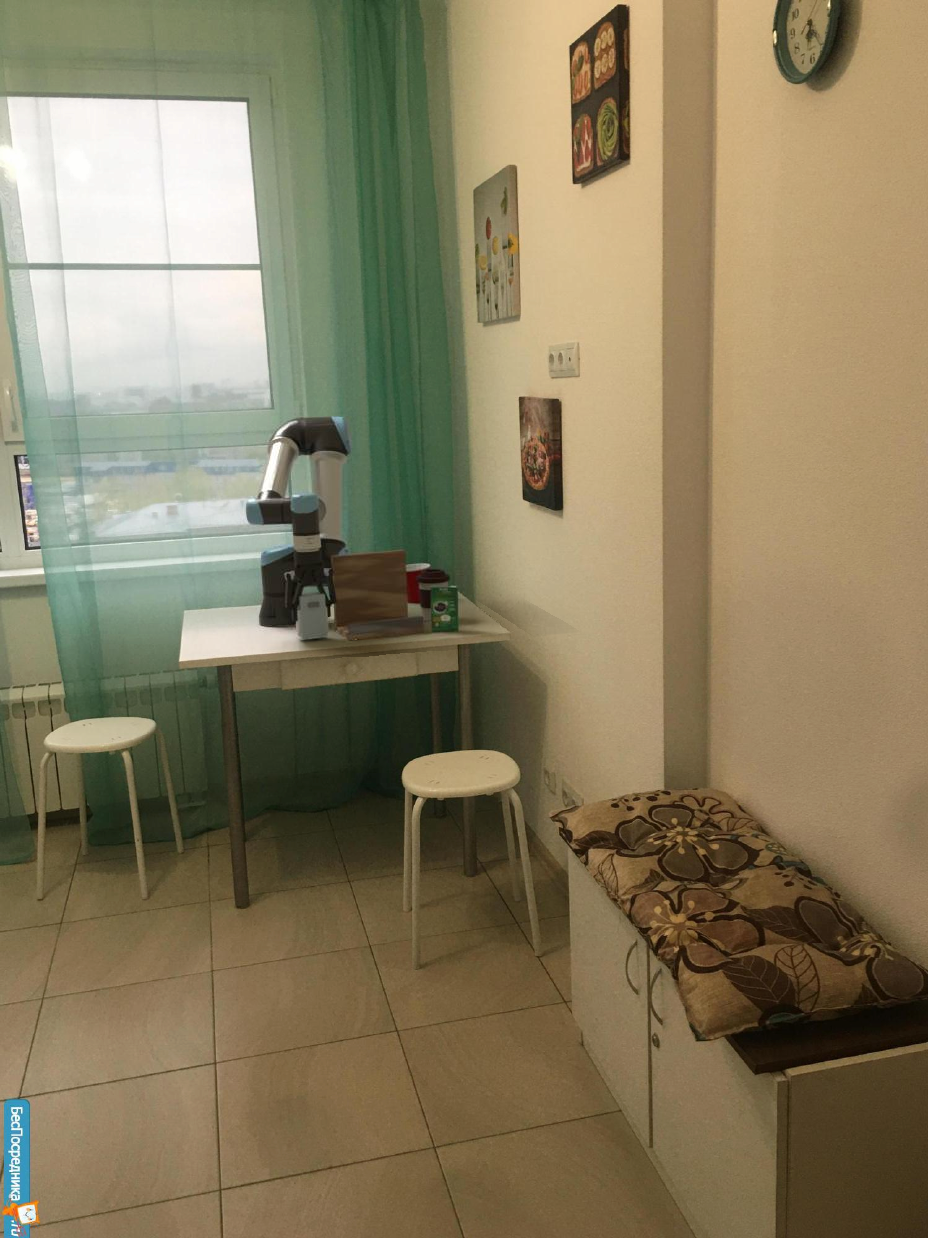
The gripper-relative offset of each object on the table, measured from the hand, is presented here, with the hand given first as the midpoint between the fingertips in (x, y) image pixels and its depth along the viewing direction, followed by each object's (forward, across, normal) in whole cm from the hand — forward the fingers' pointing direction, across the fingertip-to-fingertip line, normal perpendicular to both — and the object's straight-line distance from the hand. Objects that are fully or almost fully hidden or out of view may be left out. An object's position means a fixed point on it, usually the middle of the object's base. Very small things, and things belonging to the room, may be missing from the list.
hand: (312, 630), depth 307 cm
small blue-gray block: (+2, 0, 0) cm, 2 cm away
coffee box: (+3, +37, -8) cm, 38 cm away
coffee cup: (+3, +40, +8) cm, 41 cm away
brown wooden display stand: (+3, +20, +1) cm, 20 cm away
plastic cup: (+4, +45, +38) cm, 59 cm away
